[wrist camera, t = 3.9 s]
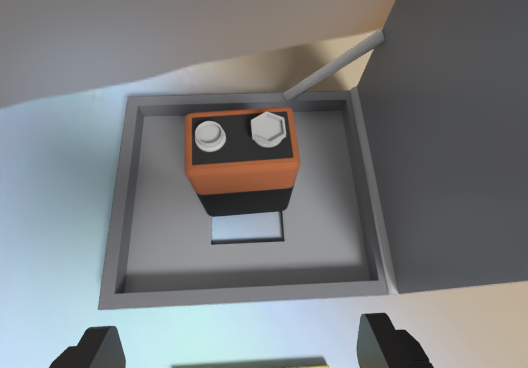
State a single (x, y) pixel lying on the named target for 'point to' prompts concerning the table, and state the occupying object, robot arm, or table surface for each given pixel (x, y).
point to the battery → (242, 159)
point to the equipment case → (349, 175)
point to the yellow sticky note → (322, 367)
